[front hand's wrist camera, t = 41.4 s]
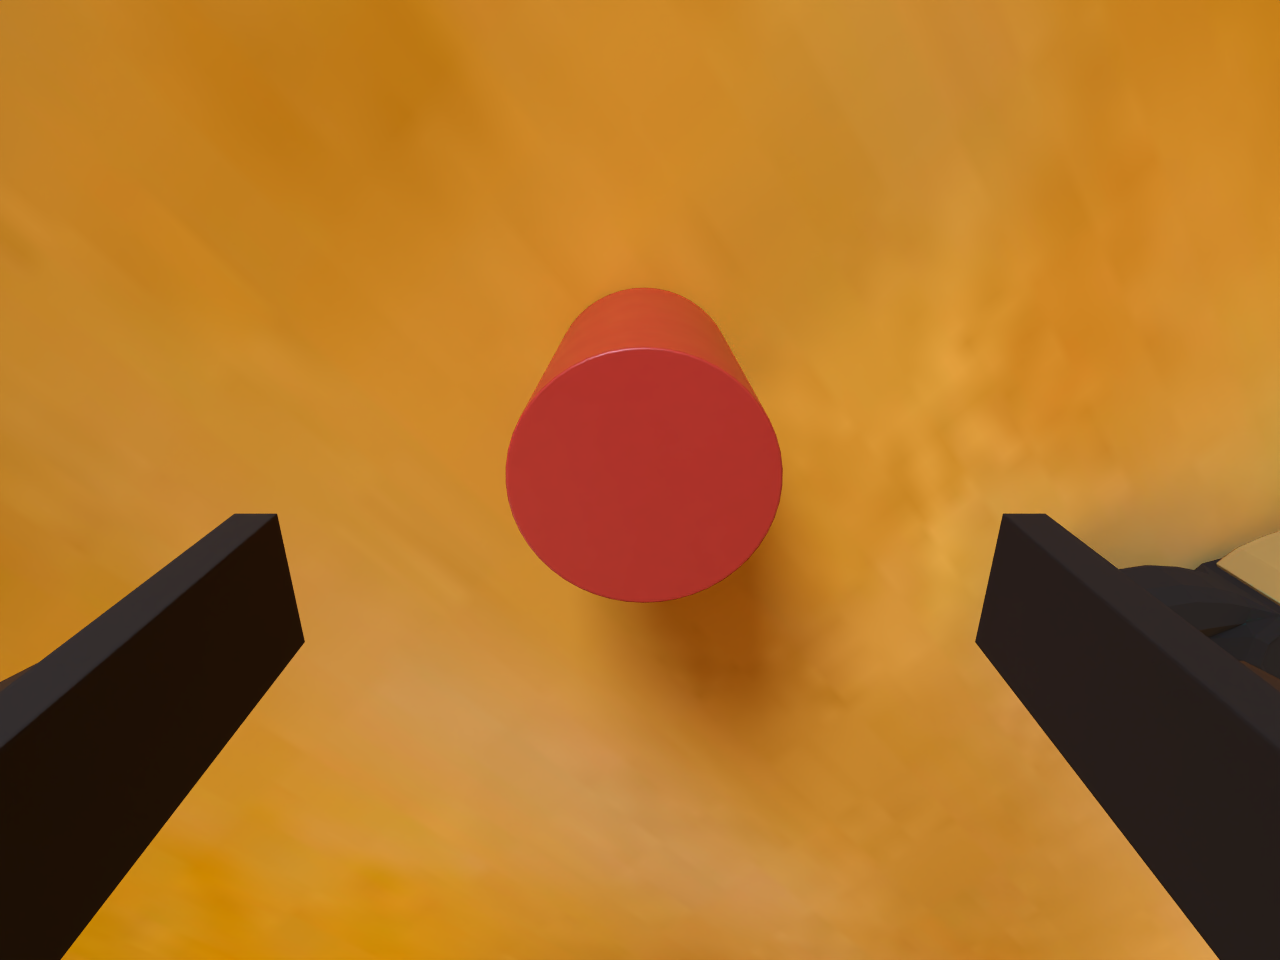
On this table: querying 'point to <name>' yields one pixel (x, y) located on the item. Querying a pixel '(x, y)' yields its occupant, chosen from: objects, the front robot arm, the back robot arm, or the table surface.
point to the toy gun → (1227, 599)
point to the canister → (644, 453)
